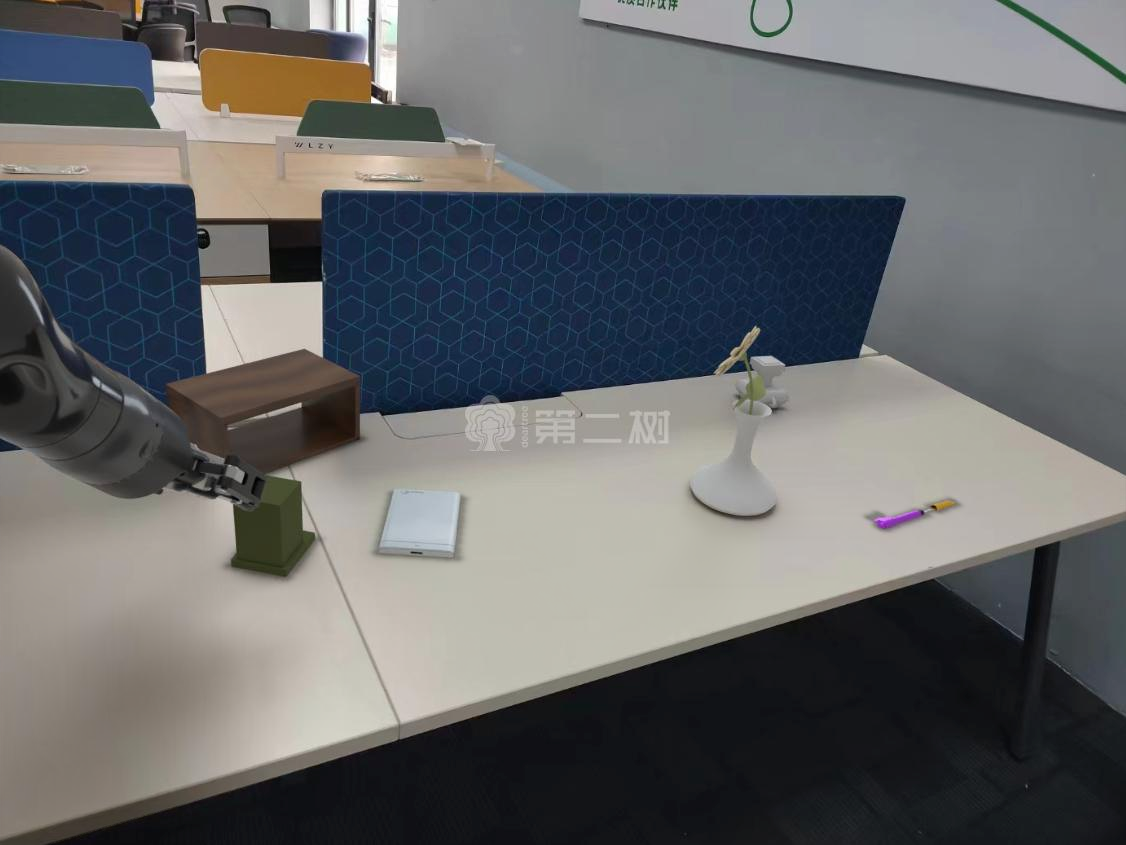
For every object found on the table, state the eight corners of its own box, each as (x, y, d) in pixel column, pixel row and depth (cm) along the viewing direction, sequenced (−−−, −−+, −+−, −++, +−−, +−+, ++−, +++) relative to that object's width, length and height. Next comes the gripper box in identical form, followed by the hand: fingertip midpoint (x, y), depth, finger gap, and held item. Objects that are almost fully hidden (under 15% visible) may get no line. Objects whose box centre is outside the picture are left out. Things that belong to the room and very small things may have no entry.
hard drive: (393, 487, 103) (378, 545, 91) (461, 492, 103) (454, 550, 92) (393, 499, 103) (378, 557, 92) (460, 503, 104) (453, 562, 93)
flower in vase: (720, 471, 119) (757, 302, 108) (790, 506, 112) (836, 330, 101) (662, 498, 111) (696, 318, 100) (733, 538, 104) (778, 350, 93)
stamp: (789, 416, 139) (801, 369, 136) (755, 418, 137) (766, 371, 133) (761, 394, 147) (771, 349, 143) (728, 395, 144) (737, 349, 141)
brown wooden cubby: (172, 455, 107) (165, 383, 102) (306, 413, 121) (304, 348, 117) (226, 493, 100) (220, 418, 96) (360, 443, 115) (360, 376, 111)
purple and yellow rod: (883, 532, 108) (956, 507, 117) (883, 523, 108) (957, 499, 117) (865, 525, 111) (938, 502, 119) (866, 517, 110) (939, 494, 119)
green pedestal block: (286, 581, 87) (283, 507, 83) (231, 571, 87) (225, 497, 83) (315, 543, 93) (313, 473, 89) (264, 534, 94) (260, 463, 90)
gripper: (221, 398, 59) (297, 465, 74) (33, 366, 60) (146, 438, 76) (185, 501, 57) (271, 548, 72) (-9, 464, 58) (116, 518, 73)
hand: (207, 491), depth 74 cm, fingers open, 8 cm apart
